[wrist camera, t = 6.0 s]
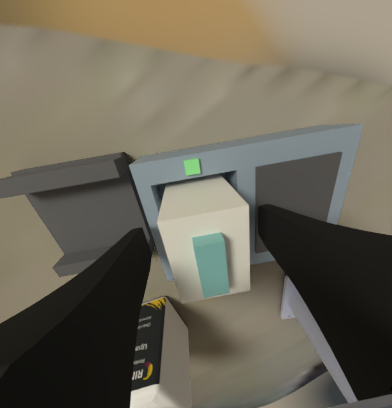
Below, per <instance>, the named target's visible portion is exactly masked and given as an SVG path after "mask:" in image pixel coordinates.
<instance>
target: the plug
mask: <svg viewBox="0 0 392 408" xmlns="http://www.w3.org/2000/svg"><path fill="white" fill-rule="evenodd" d="M157 224H158V228H159V231H160V234H161V237H162V241H163V244H164V247H165V250H166V254H167V257H168V260H169V263H170V267H171V270H172V273H173V276H174V280H175V283H176V286H177V289H178V293H179V296H180V299H181V302H182V304H184V303H190V302H195V301H200V300H205V299H210V298H215V297H220V296H225V295H230V294H235V293H240V292H245V291H250V243H249V205H248V204H247V203H246V202H245V201H244V199H243V198H242V197H241V196H240V195H239V194H238V193H237V192H236V191H235V190H234V189H233V188H232V187H231V185H230V184H229V183H228V182H227V181H226V180H225V179H224V178H223V177H222V176H221V175H220V174H219V173H218V174H213V175H207V176H201V177H196V178H190V179H185V180H179V181H174V182H168V183H166V186H165V191H164V195H163V199H162V203H161V207H160V211H159V216H158V220H157Z"/></svg>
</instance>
